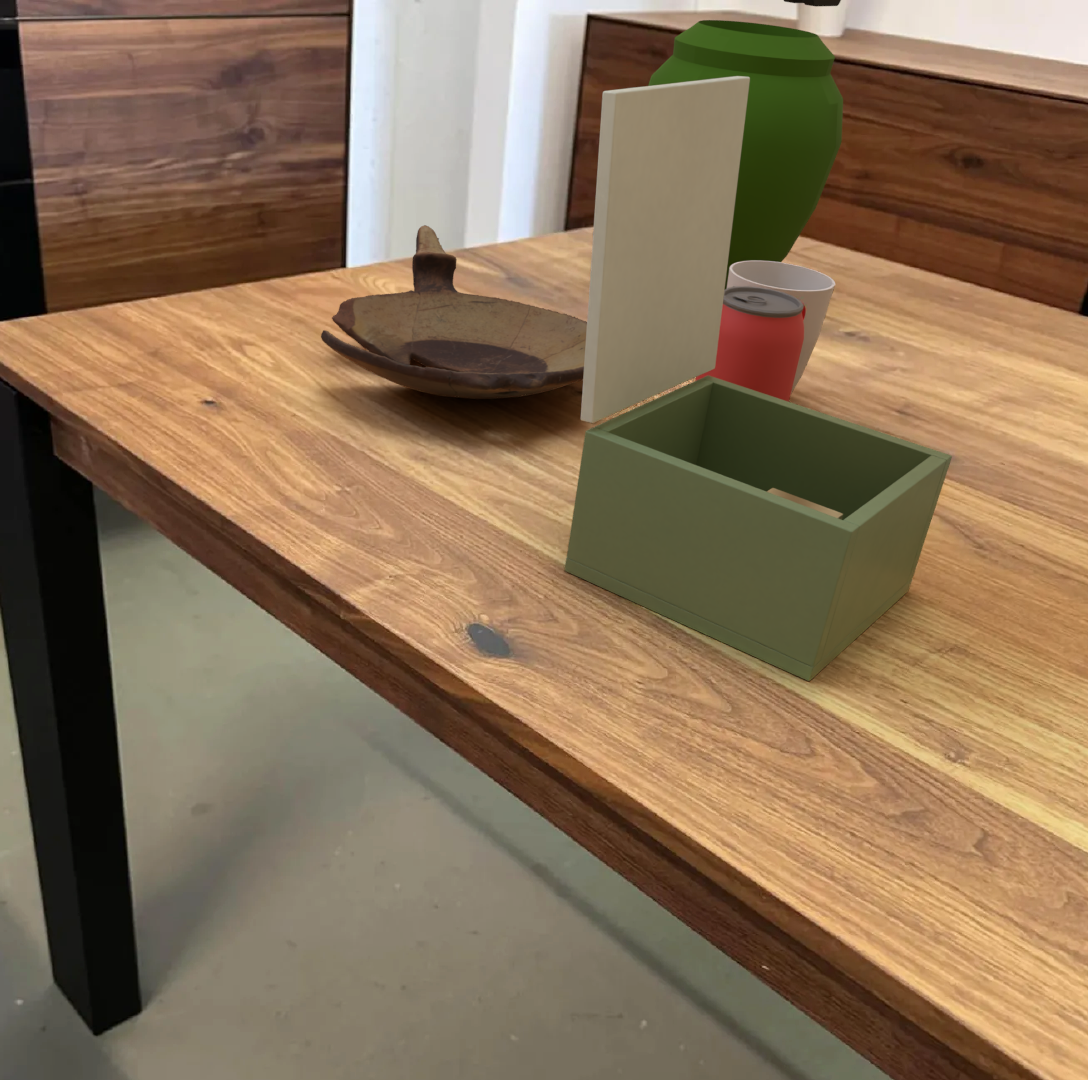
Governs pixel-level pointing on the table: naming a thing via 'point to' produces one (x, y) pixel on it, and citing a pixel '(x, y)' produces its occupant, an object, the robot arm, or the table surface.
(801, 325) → the beer can
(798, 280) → the cup
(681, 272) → the grey box lid
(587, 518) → the open green box
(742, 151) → the vase
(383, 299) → the oil lamp
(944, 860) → the table surface
